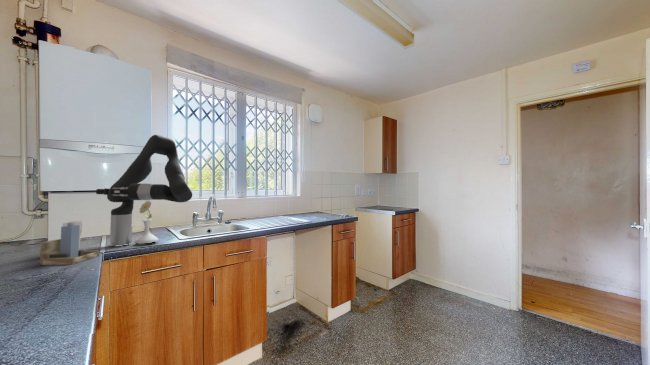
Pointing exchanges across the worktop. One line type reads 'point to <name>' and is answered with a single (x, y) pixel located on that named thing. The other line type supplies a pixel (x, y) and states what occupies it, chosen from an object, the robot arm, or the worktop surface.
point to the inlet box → (53, 256)
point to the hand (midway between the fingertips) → (104, 191)
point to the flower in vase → (146, 226)
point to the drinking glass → (76, 224)
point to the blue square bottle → (70, 240)
